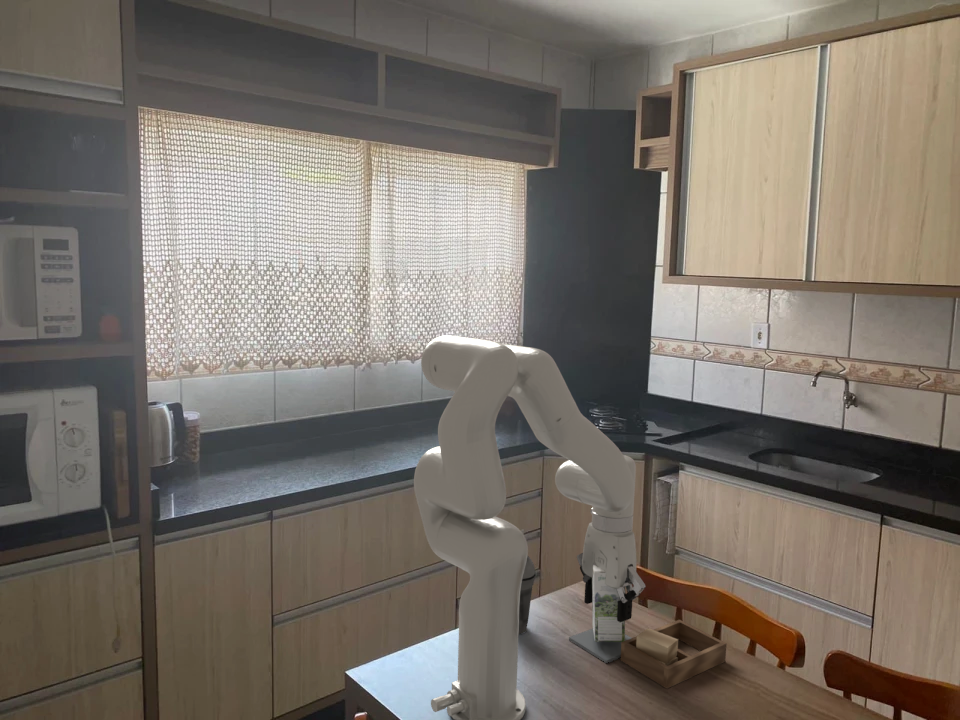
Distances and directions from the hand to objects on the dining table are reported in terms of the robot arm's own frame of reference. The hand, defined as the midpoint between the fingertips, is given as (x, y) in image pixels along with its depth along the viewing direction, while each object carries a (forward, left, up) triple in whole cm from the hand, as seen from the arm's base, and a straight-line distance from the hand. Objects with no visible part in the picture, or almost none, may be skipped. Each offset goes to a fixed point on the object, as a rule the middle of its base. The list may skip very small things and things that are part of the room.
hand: (607, 610), depth 140 cm
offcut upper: (+2, -11, -4) cm, 12 cm away
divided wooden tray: (+6, -11, -7) cm, 14 cm away
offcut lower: (+2, -11, -7) cm, 13 cm away
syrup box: (+1, 0, -5) cm, 5 cm away
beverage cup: (-11, +14, -7) cm, 19 cm away
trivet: (0, 0, -7) cm, 7 cm away
